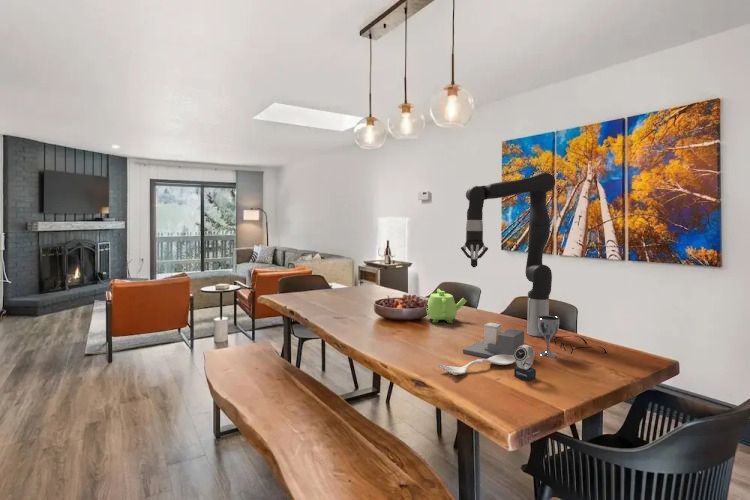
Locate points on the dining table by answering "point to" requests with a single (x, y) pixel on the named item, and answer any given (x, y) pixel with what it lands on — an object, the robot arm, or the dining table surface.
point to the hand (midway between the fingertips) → (474, 267)
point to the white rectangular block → (491, 334)
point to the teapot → (443, 306)
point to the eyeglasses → (571, 345)
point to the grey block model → (506, 344)
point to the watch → (520, 358)
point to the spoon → (496, 359)
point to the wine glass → (548, 331)
